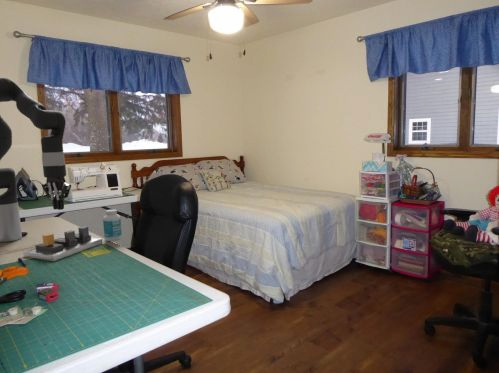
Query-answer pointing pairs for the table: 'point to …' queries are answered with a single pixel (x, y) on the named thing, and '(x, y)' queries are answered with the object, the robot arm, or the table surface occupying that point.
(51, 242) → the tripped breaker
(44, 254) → the panel
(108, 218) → the pill bottle
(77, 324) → the table surface
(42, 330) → the table surface
